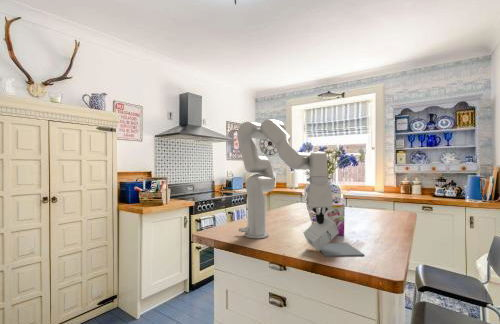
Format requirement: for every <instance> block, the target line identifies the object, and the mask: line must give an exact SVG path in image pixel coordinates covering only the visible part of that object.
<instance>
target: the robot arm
mask: <svg viewBox="0 0 500 324" xmlns="http://www.w3.org/2000/svg"><path fill="white" fill-rule="evenodd" d="M236 132H237V133H236V136H237V142H238V145H239V148H240V152H241V156H242V162H243V166H244V169H245V171H246V172H247V173H249V174H254V175H250V176H249V177H247V179H246V181H245V190H246V196H247V199H246V200H247V202H246V203H247V225H246V227H245V226H244V227H238V232H241V233H244V236H245V237H246V238H249V239H255V240H256V239H264V238H267V237H269V235H270V234H269V232H268V231H266V225H267V224H266V221H267V220H266V215H267V214H266V211H267V210H266V209H267V208H266V205H267V203H266V197H265V195H264V193H270V192H272V191H273V190H274V188H275V186H276V181H275V176H274V172H273V167H272V164H271V161H270V159H269V158H267V157H266V156H263V155H259V152H258V148H257V145H256V144H255V142H254V141H253V139H258V140H269V141H270V142H271V143H272V144H273V145H274V147H275V148H276V151H277V155H278V156H279V158H280V159H281V161H282V162H284V164H285V165H286V166H288V167H289V168H290V169H292V170H296V171H297V170H298V171H299V170H304V171H306V170H309V177H307V178H306V182H309V184H307V185H308V186H307V195H306V204H307V210H308V211H313V213H315V222H316V221H317V223H319V224H323V221H324V214H325V212H326V211H327V210H330V209H332V206H333V203H334V201H333V191H332V187H331V183H329V180H328V179H329V178H328V176H329V175H328V155H327V152H324V151H314V152H311V153H307V152H298V151H296V150H295V149H294V147H292V146H291V145H290V142H291V136H290V134H288V132H287V131H286V126H285V124H284V123H283V122H282V121H280V120H276V119H271V118H268V119H264V120H263V121H262V122H261V123H259V122H254V121H244V122H242V123H241V124H240V125H239V127H238V129H237V131H236Z"/></svg>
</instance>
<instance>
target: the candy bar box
mask: <svg viewBox="0 0 500 324" xmlns="http://www.w3.org/2000/svg"><path fill="white" fill-rule="evenodd" d="M345 207H346V206H345V204H343V203H335V202H333V206H332V209H330V210H327V211H326V212H325V214H324V216H326V217H327V218H329V219H331V220H332V221H334V222H335V224H336V226H337V229H338V232H339V233H338V234H337V235H336V236H343V237H344V236H345V209H346V208H345Z"/></svg>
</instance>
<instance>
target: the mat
mask: <svg viewBox="0 0 500 324" xmlns="http://www.w3.org/2000/svg"><path fill="white" fill-rule="evenodd" d="M319 252H320V253H321V254H322V255H323V256H324V257H326V258H330V257H333V258H334V257H338V258H339V257H365V253H363V252H361V251H360V250H358V249H357V248H356V247H354V246H352V245H351V244H349V243H348V242H329V243H327V244H326V245H325V246H324V247H323V248H322V249H321V250H320V251H319Z"/></svg>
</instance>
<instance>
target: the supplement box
mask: <svg viewBox="0 0 500 324" xmlns="http://www.w3.org/2000/svg"><path fill="white" fill-rule="evenodd" d="M338 233H339V232H338V229H337V226H336V224H335V222H334V221H332V220H331V219H329V218H327V217H326V216H324V221H323V224H319V223H317V221H316V220H315V222H313V223H312V224H311V225H310V226H308V228H306V230H305V231H303V236H304V237H305V239H306V242H307V243H308V244H309V245H310V246H311V247H312V248H314V249H315V250H317V252H321V251H320V250H321V249H322V248H323V247H324V246H325V245H326V244H327V243H331V241H332V240H333V239H334V238H335V237H336V236H338V235H337V234H338Z"/></svg>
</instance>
